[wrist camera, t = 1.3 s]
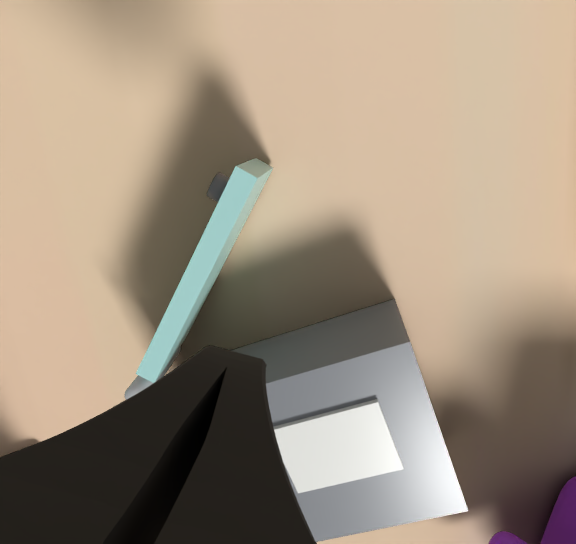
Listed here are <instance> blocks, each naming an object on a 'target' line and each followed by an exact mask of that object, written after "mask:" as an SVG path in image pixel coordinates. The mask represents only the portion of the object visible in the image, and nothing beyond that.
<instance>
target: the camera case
mask: <svg viewBox="0 0 576 544" xmlns="http://www.w3.org/2000/svg"><path fill="white" fill-rule="evenodd" d="M230 351H234V352H238V353H241V354H245V355H249V356H253V357H257V358H261V359H263V360H264V362H265V363H266V365H267V366H266V389H267V397H268V403H269V409H270V413H271V418H272V423H273V428H274V432H275V435H276V439H277V443H278V446H279V450H280V453H281V456H282V460H283V463H284V466H285V469H286V472H287V475H288V478H289V480H290V483H291V486H292V488H293V491H294V493H295V496H296V498H297V501H298V503H299V506H300V508H301V510H302V513H303V515H304V517H305V520H306V522H307V524H308V526H309V529H310V531H311V533H312V535H313V537H314V539H315V541H316V542H318V541H323V540H328V539H333V538H338V537H343V536H348V535H353V534H358V533H363V532H368V531H372V530H377V529H382V528H387V527H392V526H397V525H402V524H407V523H412V522H417V521H422V520H427V519H432V518H437V517H442V516H447V515H452V514H457V513H462V512H466V511H468V508H467V506H466V503H465V500H464V497H463V494H462V491H461V488H460V485H459V482H458V479H457V476H456V474H455V471H454V468H453V465H452V462H451V459H450V456H449V453H448V450H447V447H446V445H445V442H444V439H443V436H442V433H441V430H440V427H439V424H438V421H437V418H436V415H435V413H434V410H433V407H432V404H431V401H430V398H429V395H428V392H427V389H426V386H425V383H424V381H423V378H422V375H421V372H420V369H419V366H418V363H417V360H416V357H415V354H414V352H413V349H412V346H411V343H410V340H409V337H408V334H407V332H406V329H405V326H404V323H403V321H402V318H401V315H400V312H399V309H398V307H397V304H396V301H395V299H392V300H389V301H386V302H383V303H380V304H377V305H373V306H370V307H367V308H364V309H361V310H357V311H354V312H351V313H348V314H345V315H342V316H338V317H335V318H332V319H329V320H326V321H323V322H319V323H316V324H313V325H310V326H307V327H303V328H300V329H297V330H294V331H291V332H288V333H284V334H281V335H278V336H275V337H272V338H268V339H265V340H262V341H259V342H256V343H253V344H249V345H246V346H243V347H240V348H237V349H234V350H230Z"/></svg>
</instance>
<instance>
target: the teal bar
mask: <svg viewBox="0 0 576 544" xmlns="http://www.w3.org/2000/svg"><path fill="white" fill-rule="evenodd" d="M272 169H273V167H271V166H269V165H267V164H266V163H264V162H262V161H260V160H259V159H257V158H255V159H252V160H250V161H247V162H244V163H242V164H239V165H237V166H235V168H234V170H233V173H232V175H231V177H230V178H229V177H227V176H226V175H224V174H222V173H220V172H219V173H218V174H217V175H216V176H215V178H214V179H213V181H212V183H211V185H210V187H209V189H208V192H207V197H209V198H211V199H212V200H214V201H216V202H218V204H217V206H216V208H215V210H214V212H213V214H212V216H211V218H210V220H209V223H208V225H207V227H206V229H205V231H204V233H203V235H202V237H201V239H200V241H199V243H198V245H197V247H196V250H195V252H194V254H193V256H192V258H191V260H190V262H189V264H188V266H187V268H186V270H185V272H184V275H183V277H182V279H181V281H180V283H179V285H178V287H177V289H176V291H175V293H174V295H173V297H172V300H171V302H170V304H169V306H168V308H167V310H166V312H165V314H164V316H163V318H162V320H161V322H160V325H159V327H158V329H157V331H156V333H155V335H154V337H153V339H152V341H151V343H150V345H149V347H148V350H147V352H146V354H145V356H144V358H143V360H142V362H141V364H140V366H139V368H138V370H137V372H136V374H137V375H138V376H137V377H136V379H135V380H134V381H133V382H132V384H131V385H130V386H129V387H128V389H127V390H126V392H125V399H126V400H127V399H128V398H130V397H132V396H134V395H135V394H137V393H139V392H140V391H142V390H144V389H145V388H147V387H148V386H150V385H151V384H153V383H155V382H156V381H158V380H159V379H161V378H162V377H163V376H164V375H165V374H166V372H167V371H168V369H169V368H170V366H171V365H172V363H173V362H174V360H175V359H176V357H177V356H178V355H179V353H180V351H181V344H182V343H183V342H184V340H185V339H186V337H187V335H188V333H189V331H190V329H191V327H192V325H193V323H194V321H195V319H196V317H197V316H198V314H199V312H200V310H201V308H202V306H203V304H204V302H205V300H206V298H207V296H208V294H209V292H210V290H211V288H212V286H213V284H214V282H215V280H216V279H217V277H218V275H219V273H220V271H221V269H222V267H223V265H224V263H225V261H226V259H227V257H228V255H229V253H230V251H231V249H232V247H233V245H234V243H235V241H236V240H237V238H238V236H239V234H240V232H241V230H242V228H243V226H244V224H245V222H246V220H247V218H248V216H249V214H250V212H251V210H252V208H253V206H254V204H255V202H256V201H257V199H258V197H259V195H260V193H261V191H262V189H263V187H264V185H265V183H266V181H267V179H268V177H269V175H270V173H271V171H272Z"/></svg>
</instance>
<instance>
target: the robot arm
mask: <svg viewBox="0 0 576 544" xmlns="http://www.w3.org/2000/svg"><path fill="white" fill-rule="evenodd" d="M266 366H267V365H266V363H265V362H264V360H263V359H261V358H257V357H253V356H249V355H245V354H241V353H238V352H234V351H230V350H226V349H222V348H219V347H215V346H211V345H209V346H207V347H205V348H203V349H202V350H200V351H199V352H198V353H196V354H195V355H194V356H192V357H191V358H190V359H188V360H187V361H185V362H184V363H183V364H181V365H180V366H178V367H177V368H176V369H174V370H173V371H171V372H170V373H168V374H167V375H165V376H164V377H162V378H161V379H159V380H158V381H156V382H155V383H153V384H151V385H150V386H148V387H147V388H145V389H144V390H142V391H140V392H139V393H137V394H135V395H134V396H132V397H130V398H128V399H127V400H125V401H123V402H121V403H120V404H118V405H116V406H114V407H113V408H111V409H109V410H107V411H106V412H104V413H102V414H100V415H98V416H96V417H94V418H92V419H90V420H88V421H86V422H84V423H82V424H80V425H78V426H76V427H74V428H72V429H69V430H67V431H65V432H63V433H61V434H59V435H56V436H54V437H52V438H49V439H47V440H45V441H42V442H39V443H37V444H34V445H32V446H29V447H27V448H24V449H21V450H19V451H16V452H14V453H11V454H8V455H6V456H3V457H1V458H0V544H317V543H316V541H315V539H314V537H313V535H312V533H311V531H310V529H309V526H308V524H307V522H306V520H305V517H304V515H303V513H302V510H301V508H300V506H299V503H298V501H297V498H296V496H295V493H294V491H293V488H292V486H291V483H290V480H289V478H288V475H287V472H286V469H285V466H284V463H283V460H282V456H281V453H280V450H279V446H278V443H277V439H276V435H275V432H274V428H273V423H272V418H271V413H270V409H269V403H268V397H267V389H266Z"/></svg>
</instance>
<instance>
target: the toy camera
mask: <svg viewBox="0 0 576 544" xmlns="http://www.w3.org/2000/svg"><path fill="white" fill-rule="evenodd" d="M489 544H527V543H526V542H525V541H523V540H522V539H520V538H519V537H518V536H516V535H514V534H512V533H510V532H507V531H501V532H498V533H496V534H495V535H494V536H493V537H492V539H491V540H490V542H489ZM540 544H576V476H575V477H572V478H571V479H570V480H568V481H567V483H566V484H565V485H564V487H563V488H562V490H561V492H560V494H559V496H558V499H557V501H556V503H555V506H554V508H553V511H552V513H551V516H550V519H549V521H548V524H547V527H546V529H545V532H544V534H543V537H542V540H541V543H540Z"/></svg>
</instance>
